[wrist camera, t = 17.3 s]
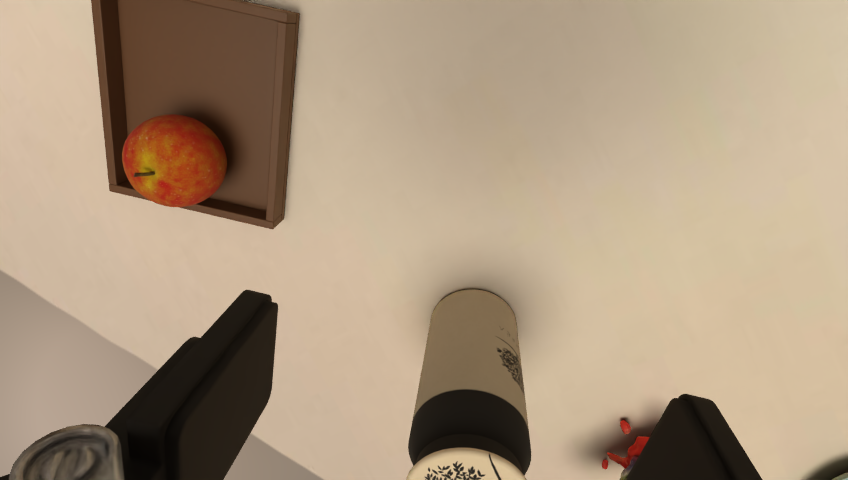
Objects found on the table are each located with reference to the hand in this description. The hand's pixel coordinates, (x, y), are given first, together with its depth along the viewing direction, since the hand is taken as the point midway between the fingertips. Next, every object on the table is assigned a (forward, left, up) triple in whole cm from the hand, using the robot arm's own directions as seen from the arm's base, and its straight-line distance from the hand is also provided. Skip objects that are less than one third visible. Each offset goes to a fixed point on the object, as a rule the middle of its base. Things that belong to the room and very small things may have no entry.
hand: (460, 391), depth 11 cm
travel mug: (+17, +4, -28) cm, 33 cm away
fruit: (+6, -22, -28) cm, 36 cm away
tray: (+2, -22, -28) cm, 36 cm away
